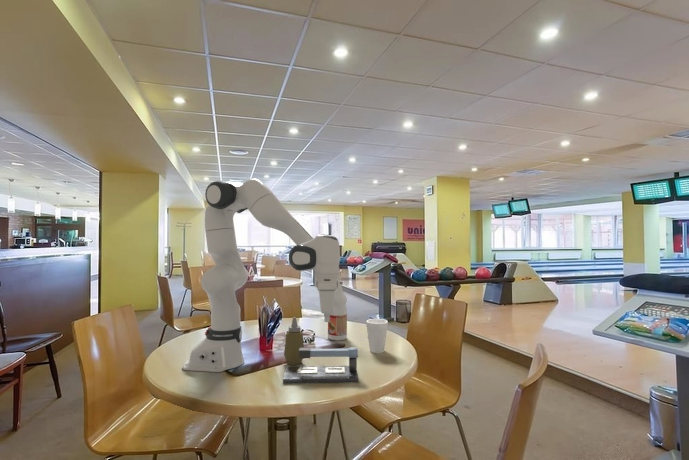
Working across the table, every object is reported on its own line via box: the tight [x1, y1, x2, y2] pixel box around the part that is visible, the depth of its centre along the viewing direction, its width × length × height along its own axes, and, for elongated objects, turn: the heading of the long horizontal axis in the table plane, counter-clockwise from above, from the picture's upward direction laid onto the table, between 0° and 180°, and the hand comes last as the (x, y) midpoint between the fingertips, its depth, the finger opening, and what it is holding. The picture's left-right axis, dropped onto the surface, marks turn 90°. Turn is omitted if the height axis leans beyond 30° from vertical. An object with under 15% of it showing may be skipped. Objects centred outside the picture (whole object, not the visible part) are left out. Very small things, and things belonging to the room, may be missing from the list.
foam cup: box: [365, 318, 389, 354], centre depth 160 cm, size 10×9×13 cm
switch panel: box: [282, 357, 360, 384], centre depth 131 cm, size 26×12×6 cm, turn 93°
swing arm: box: [299, 347, 359, 359], centre depth 132 cm, size 21×4×3 cm, turn 93°
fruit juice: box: [327, 280, 348, 341], centre depth 179 cm, size 9×9×28 cm
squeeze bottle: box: [283, 316, 305, 366], centre depth 144 cm, size 8×8×18 cm
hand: (326, 321), depth 125 cm, fingers closed
